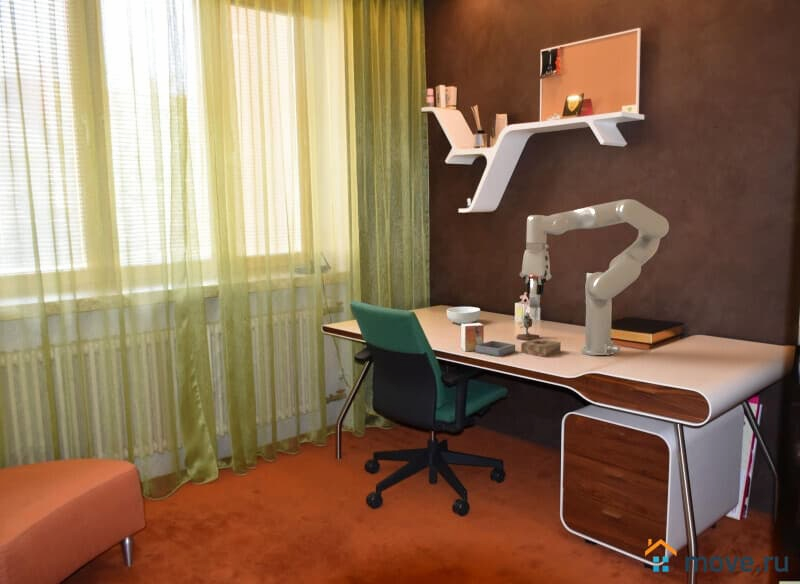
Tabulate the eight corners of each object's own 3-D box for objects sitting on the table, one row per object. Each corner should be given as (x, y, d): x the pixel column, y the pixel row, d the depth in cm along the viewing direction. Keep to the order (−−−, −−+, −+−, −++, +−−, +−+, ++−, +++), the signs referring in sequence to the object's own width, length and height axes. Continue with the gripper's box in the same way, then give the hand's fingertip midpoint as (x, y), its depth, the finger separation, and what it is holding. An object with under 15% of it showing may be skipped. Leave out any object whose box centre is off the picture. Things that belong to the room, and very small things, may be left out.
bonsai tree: (518, 335, 291) (518, 308, 290) (539, 336, 289) (540, 309, 287) (515, 340, 281) (516, 313, 279) (537, 341, 278) (538, 313, 277)
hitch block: (560, 352, 258) (560, 342, 257) (545, 357, 250) (545, 346, 249) (536, 348, 265) (536, 338, 265) (521, 352, 257) (521, 343, 257)
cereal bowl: (444, 320, 330) (444, 306, 329) (477, 319, 331) (477, 306, 330) (449, 327, 314) (449, 312, 313) (483, 326, 315) (483, 311, 314)
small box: (464, 351, 261) (464, 326, 260) (460, 348, 267) (460, 323, 265) (483, 350, 263) (483, 324, 262) (479, 347, 268) (479, 322, 267)
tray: (515, 351, 260) (515, 344, 259) (498, 356, 252) (498, 349, 251) (492, 347, 267) (492, 340, 267) (475, 352, 259) (475, 345, 259)
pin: (543, 307, 255) (544, 274, 254) (536, 308, 252) (537, 275, 250) (532, 305, 259) (533, 273, 257) (525, 307, 255) (526, 274, 254)
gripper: (560, 247, 249) (558, 295, 252) (523, 245, 261) (522, 291, 263) (549, 248, 244) (548, 297, 246) (512, 246, 255) (511, 292, 258)
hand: (534, 293), depth 255 cm, fingers closed on pin, 4 cm apart
